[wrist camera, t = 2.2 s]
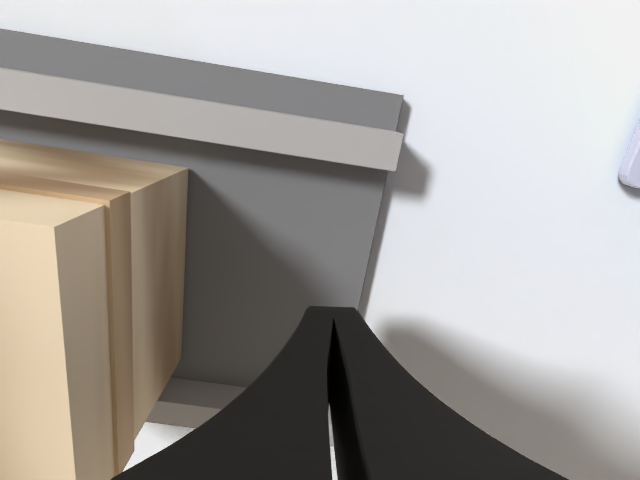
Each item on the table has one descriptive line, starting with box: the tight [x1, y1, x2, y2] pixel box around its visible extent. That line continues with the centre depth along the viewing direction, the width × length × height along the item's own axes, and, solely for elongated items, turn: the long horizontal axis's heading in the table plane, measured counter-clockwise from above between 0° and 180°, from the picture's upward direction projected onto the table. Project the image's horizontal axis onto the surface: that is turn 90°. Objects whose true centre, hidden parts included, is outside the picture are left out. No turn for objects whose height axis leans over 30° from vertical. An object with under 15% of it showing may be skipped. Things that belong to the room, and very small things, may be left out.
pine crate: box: [0, 139, 188, 480], centre depth 10 cm, size 6×7×6 cm
